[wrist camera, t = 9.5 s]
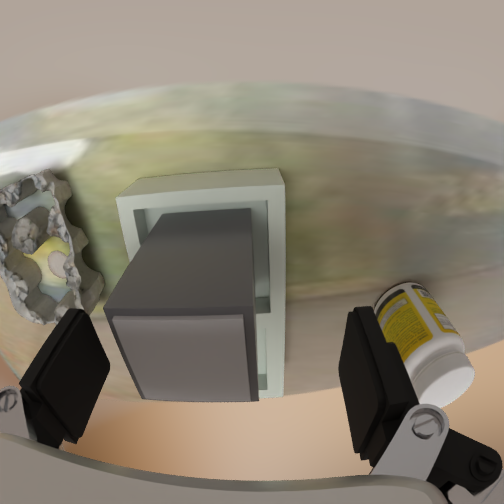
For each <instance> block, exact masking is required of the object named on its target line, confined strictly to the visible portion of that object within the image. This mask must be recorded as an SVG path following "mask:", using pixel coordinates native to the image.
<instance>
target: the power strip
mask: <svg viewBox="0 0 504 504" xmlns="http://www.w3.org/2000/svg"><path fill="white" fill-rule="evenodd" d="M116 203H117V208H118V213H119V218H120V222H121V227H122V231H123V236H124V240H125V245H126V249H127V253H128V257H129V261H130V262H131V261H132V259H133V258H134V256H135V254H136V253H137V251H138V250H139V248H140V247H141V245H142V243H143V242H144V240H145V239H146V237H147V236H148V234H149V233H150V231H151V230H152V228H153V227H154V225H155V224H156V222H157V221H158V219H159V218H160V216H161V215H162V214H168V213H181V212H195V211H210V210H226V209H244V208H251V220H252V238H253V256H254V275H255V297H256V326H257V356H258V386H259V398H274V397H283V388H284V353H285V293H286V220H285V184H284V181H283V179H282V176H281V174H280V171H279V169H278V168H268V169H246V170H229V171H215V172H202V173H190V174H179V175H169V176H159V177H150V178H141V179H137V180H136V181H135V182H134V183H132V184H131V185H130V186H129V187H128V188H126V189H125V190H124V191H123V192H122V193H120V194H119V195H118V196H117V197H116Z"/></svg>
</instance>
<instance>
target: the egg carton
mask: <svg viewBox="0 0 504 504" xmlns="http://www.w3.org/2000/svg"><path fill="white" fill-rule="evenodd" d="M37 189H40V190H41V191H42V192H45V191H51V192H52V196H53V198H54V201H55V205H54V206H53V207H52V210H51V211H50V212H49V210H47V209H46V208H44V207H37V208H35V209H34V210H32V211H31V212H29V213H28V214H26V215H25V216H24V217H22V218H20V219H19V220H16V219H15V218H12V217H8V215H7V213H6V210H5V207H4V205H5V204H7V205H8V206H9V207H13V206H15V205H16V204H17V203H18V202H20V201H21V200H23V199H24V198H26V197H28V196H29V195H31V194H33V193H34V192H35V191H36V190H37ZM71 196H72V193H71V189H70V186H69V184H68V182H67V181H61V180H59V179H57V178H56V177H55V176H54V175H53V173H52V172H51V170H50V169H46V170H44V171H41V172H40V173H38V174H36V175H34V174H32V175H30V176H27V177H25V178H24V179H22V180H20V181H19V182H18V183H13V184H10V185H8V186H6V187H5V188H3V189H0V275H1V278H2V279H3V281H4V282H5V283H6V286H7V288H8V291H9V295H10V298H11V301H12V304H13V307H14V308H15V310H16V311H17V313H18V314H20V315H21V316H22V317H24V318H26V319H27V320H29V321H31V322H33V323H41V324H43V325H45V324H47V323H56V325H57V324H58V322H59V321H60V320H61V318H62V317H63V315H64V314H65V313H66V311H67V310H68V309H69V308H77V309H83V310H84V311H85V312H86V313H87V314H88V315H89V316H90V314H91V312H92V311H93V310H94V308H95V306H96V305H97V303H98V301H99V300H100V298H99V295H100V293H101V292H102V290H103V288H104V286H105V281H104V278H103V276H102V274H101V273H100V272H95V271H93V270H91V269H90V268H88V267H87V266H86V264H85V263H84V261H83V259H82V249H83V248H84V247H85V246H86V245H87V244H88V243H89V241H88V239H87V237H86V236H85V234H84V232H83V230H82V228H77V227H75V226H73V225H72V224H71V223H70V222H69V221H68V220H67V218H66V215H65V209H64V207H65V204H66V201H67V200H68V199H69V198H70V197H71ZM51 236H56V237H60V238H61V239H62V240H63V241H64V242H68V243H69V245H70V253H69V256H66V255H65V254H64V253H62V252H60V251H53V252H51V253H50V255H49V256H48V264H49V268H50V270H51V271H52V272H53V274H54V275H56V276H57V277H59V278H62V279H63V278H67V282H66V285H67V286H68V287H70V288H71V291H69V292H68V293H67V294H66V295H65V296H64V297H63V299H62V300H61V301H60V303H59V304H58V303H57V302H56V301H55V300H54V299H53V298H52V297H50V296H48V295H45V294H42V293H41V292H40V290H39V288H38V286H37V285H38V284H39V282H40V281H41V279H42V274H41V270H40V268H39V266H38V265H37V264H36V262H34V261H33V260H32V259H30V258H26V257H24V256H23V253H26V254H31V255H32V254H33V253H34V252H35V251H36V250H37V249H38V248H39V247H40V246H41V245H42V244H43V243H44V242H45V241H46V240H47V239H48V238H50V237H51ZM22 252H23V253H22Z"/></svg>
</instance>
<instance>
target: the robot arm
mask: <svg viewBox="0 0 504 504" xmlns="http://www.w3.org/2000/svg"><path fill="white" fill-rule="evenodd" d="M338 369H339V377H340V382H341V387H342V392H343V396H344V401H345V406H346V411H347V416H348V421H349V426H350V432H351V437H352V442H353V448H354V452H355V453H360V458H361V460H367V459H369V462H370V466H372V467H373V469H372V471H371V472H370V473H369V475H356V476H345V477H332V478H322V479H307V480H282V481H239V480H218V479H205V478H194V477H184V476H176V475H168V474H161V473H155V472H149V471H143V470H137V469H133V468H127V467H123V466H118V465H114V464H109V463H105V462H101V461H97V460H93V459H90V458H86V457H82V456H78V455H75V454H72V453H69V452H66V451H64V448H63V445H62V441H63V439H64V440H65V441H68V442H71V443H74V444H77V441H78V439H79V438H80V437H82V435H83V433H84V431H85V428H86V425H87V423H88V420H89V418H90V415H91V413H92V410H93V408H94V406H95V403H96V401H97V399H98V396H99V394H100V392H101V389H102V387H103V385H104V382H105V380H106V378H107V375H108V373H109V371H110V362H109V360H108V358H107V356H106V353H105V351H104V349H103V347H102V345H101V343H100V340H99V338H98V336H97V333H96V331H95V329H94V326H93V324H92V322H91V319H90V317H89V315H88V314H87V313H86V312H85V311H84V310H83V309H77V308H69V309H68V310H67V311H66V313H65V314H64V315H63V317H62V318H61V320H60V321H59V322H58V324H57V325H56V327H55V328H54V330H53V331H52V333H51V334H50V335H49V337H48V338H47V340H46V341H45V343H44V344H43V346H42V347H41V349H40V350H39V352H38V353H37V355H36V357H35V358H34V360H33V361H32V363H31V364H30V366H29V368H28V369H27V371H26V372H25V374H24V376H23V377H22V379H21V381H20V382H19V384H20V386H21V387H22V389H21V390H19V389H18V388H17V387H14V386H7V387H4V388H3V389H1V390H0V504H504V470H503V469H502V460H501V457H500V455H499V454H498V453H497V451H495V450H494V449H492V448H490V447H488V446H486V445H484V444H482V443H479V442H477V441H475V440H473V439H471V438H469V437H467V436H464V435H462V434H460V433H458V432H456V431H454V430H452V429H450V428H449V420H448V417H447V415H446V413H445V412H444V411H443V410H442V409H440V408H439V407H437V406H435V405H431V404H420V403H419V401H418V398H417V395H416V393H415V390H414V388H413V385H412V382H411V380H410V377H409V375H408V372H407V370H406V367H405V365H404V363H403V360H402V358H401V355H400V353H399V351H398V348H397V346H396V344H395V343H394V342H386V339H385V337H384V334H383V332H382V330H381V327H380V325H379V322H378V320H377V318H376V315H375V313H374V311H373V309H372V307H371V306H365V307H355V308H354V310H353V312H349V313H348V317H347V323H346V329H345V335H344V340H343V346H342V351H341V356H340V361H339V368H338Z"/></svg>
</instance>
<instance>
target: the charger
mask: <svg viewBox="0 0 504 504" xmlns="http://www.w3.org/2000/svg"><path fill="white" fill-rule="evenodd" d="M103 309H104V312H105V315H106V317H107V320H108V323H109V325H110V328H111V330H112V333H113V335H114V338H115V340H116V343H117V345H118V347H119V350H120V352H121V355H122V357H123V359H124V361H125V364H126V366H127V368H128V370H129V373H130V375H131V377H132V379H133V381H134V383H135V386H136V388H137V390H138V392H139V394H140V396H141V398H142V399H148V400H163V401H184V402H250V401H251V402H252V401H259V386H258V356H257V326H256V297H255V275H254V256H253V238H252V220H251V208H244V209H226V210H210V211H195V212H181V213H168V214H162V215H161V216H160V218H159V219H158V221H157V222H156V224H155V225H154V227H153V228H152V230H151V231H150V233H149V234H148V236H147V237H146V239H145V240H144V242H143V243H142V245H141V247H140V248H139V250H138V251H137V253H136V254H135V256H134V258H133V259H132V261H131V262H130V264H129V265H128V267H127V269H126V270H125V272H124V274H123V275H122V277H121V278H120V280H119V282H118V283H117V285H116V287H115V288H114V290H113V292H112V294H111V295H110V297H109V299H108V300H107V302H106V304H105V306H104V307H103Z"/></svg>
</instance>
